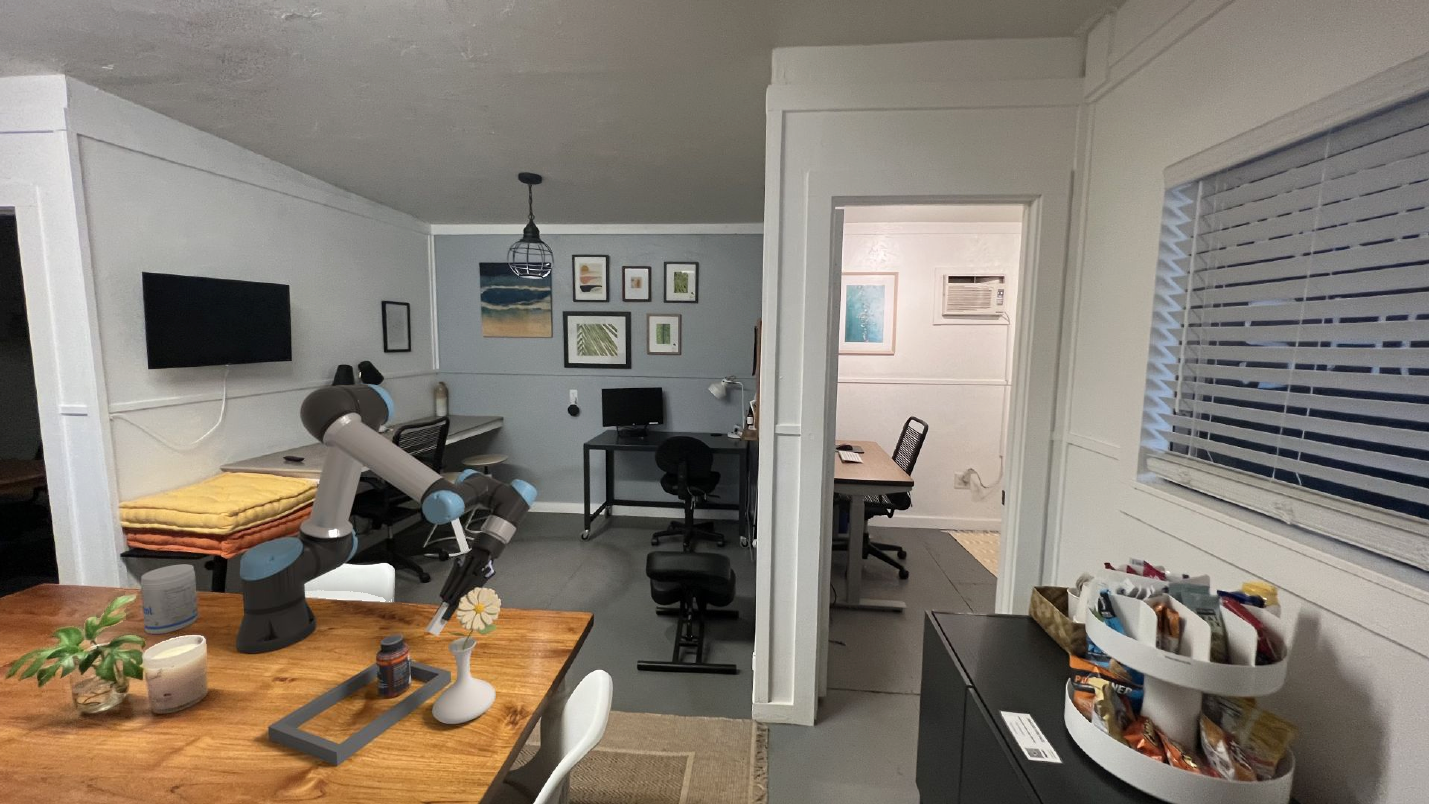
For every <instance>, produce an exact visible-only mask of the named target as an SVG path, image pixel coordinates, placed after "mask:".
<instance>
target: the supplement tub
mask: <svg viewBox="0 0 1429 804" xmlns="http://www.w3.org/2000/svg"><path fill="white" fill-rule="evenodd" d="M194 569H195V568H194V565H192V564H185V563H184V564H174V565H173V564H172V565H167V566H163V567H159V568H156V569H153V570H150V571H147V572H145V573H144V574H142V575H141V577H140V578H141V580H140V593H141V601H142V602H141V604H142V613H143V614H142V615H143V624H144V631H145V632H146V633H147V634H149V635H163V634H168V633H172V632H176V631H179V630H182V629H184V628H186V627H188V626H190V625H193V623H195V622H196V621H197V620H198V619H199V609H198V597H197V596H198V595H197V582H196V581H197V580H196V572H195V570H194Z"/></svg>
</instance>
